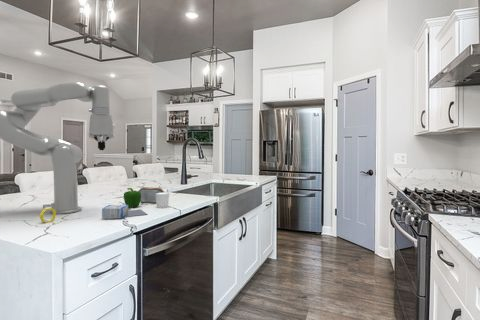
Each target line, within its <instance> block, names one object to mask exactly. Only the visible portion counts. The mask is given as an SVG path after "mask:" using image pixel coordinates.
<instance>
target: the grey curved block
mask: <svg viewBox="0 0 480 320" xmlns="http://www.w3.org/2000/svg"><path fill="white" fill-rule="evenodd" d="M138 191H140V192H141V201H140V203H142V204H157V203H156V193H161V192H164V190H163V189H162V188H160V187H146V186H145V187H142V188H140V189H138Z"/></svg>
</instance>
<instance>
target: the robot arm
mask: <svg viewBox="0 0 480 320" xmlns="http://www.w3.org/2000/svg"><path fill="white" fill-rule="evenodd" d="M10 100H11V101H10V102H12V104H13V105H14V107H15V108H14V110H8V109H0V140H2V141H4V142H6V143H8V144H11V145H12V146H13V145H14V146H16V147H17V148H21V149H23V150H26V151H28V152H30V153H33V154H35V155H37V156H45V157H46V156H49V157H51V164H52V171H53V193H54V194H53V195H54V197H53V199H54V201H53V202H51V203H50V204H42V209H43V210H44V208H46V207H52V209H54V210H55V211H56V215H57V214H58V215H62V214H71V213H77V212H80V211H82V207H81V206H79V203H78V201H79V200H78V198H79V197H78V193H79V192H78V171H77V170H78V169H77V165H76V164H78V163H80V161H81V160H82V159H83V157H84V156H83V154H84V153H83V150H82V149H81V147H80V146H78V145H75V144H73V143H71V142H68V141H65V140H63V139H60V138H58V137H55V136H50V135H41V134H39V133H35V132H33V131H31V130H28V129H25V127H26V126H28V124H29V123H30V122H31V121H32V120H33V119H34V118H35V116H36V115H37V114H38V113H39V112H40V110H41V108H47V107H54V106H56V105H57V104H58V103H59V102H63V101H68V100H79V101H81V102H84V103H90V102H91V107H92V108H88V112H90V117H89V125H88V126H89V132H88V138H90V139H94V140H95V141H96V142H97V149H99V151H105V149H106V142H107V141H108V140H110V139H113V138H114V124H113V123H114V122H113V117H112V114H110V112H111V111H110V89H109V87H108V86H105V85H96V84H95V85H93V86H92V87H91V86H89V85H86V84H84V83H82V82H79V81H73V82H64V83H63V82H62V83H57V84H54V85H51V86H47V87H42V88H41V87H40V88H32V89H23V90H18V91H17V90H16V91H15V92H13V93H12V94H11V97H10ZM101 136H102V140H101ZM50 213H51V214H53V212H52V210H50Z"/></svg>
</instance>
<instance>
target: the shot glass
mask: <svg viewBox="0 0 480 320" xmlns="http://www.w3.org/2000/svg"><path fill="white" fill-rule="evenodd" d="M169 199H170V193H169V192H161V193H156V203H155V204H156V207H157V208H159V209H164V208H168V207H169Z"/></svg>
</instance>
